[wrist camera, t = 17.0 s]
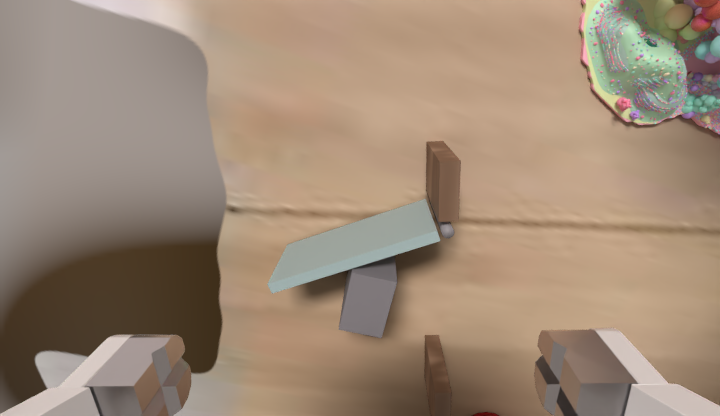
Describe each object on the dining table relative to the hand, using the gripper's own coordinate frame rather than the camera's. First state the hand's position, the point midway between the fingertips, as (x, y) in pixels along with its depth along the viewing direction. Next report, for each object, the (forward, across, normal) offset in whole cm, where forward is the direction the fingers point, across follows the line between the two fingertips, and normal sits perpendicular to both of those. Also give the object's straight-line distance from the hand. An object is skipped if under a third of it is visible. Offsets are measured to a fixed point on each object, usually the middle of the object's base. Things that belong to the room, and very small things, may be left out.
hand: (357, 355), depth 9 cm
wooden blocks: (+31, -6, +15) cm, 35 cm away
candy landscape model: (+32, -31, -9) cm, 45 cm away
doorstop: (+31, +1, +14) cm, 34 cm away
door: (+31, +1, +9) cm, 32 cm away
